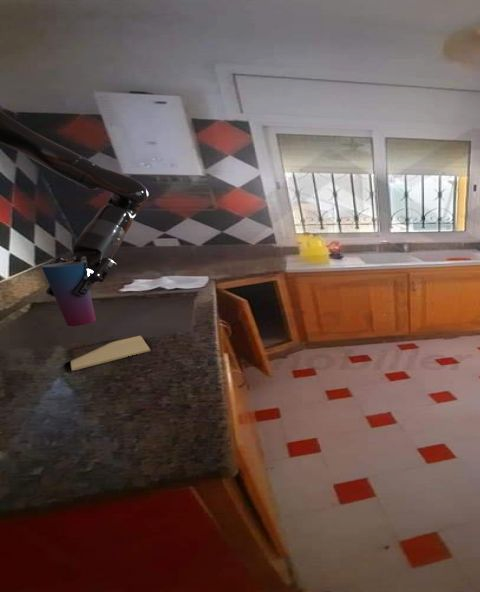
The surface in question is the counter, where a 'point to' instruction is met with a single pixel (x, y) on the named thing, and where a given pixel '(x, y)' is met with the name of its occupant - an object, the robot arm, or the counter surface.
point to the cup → (70, 292)
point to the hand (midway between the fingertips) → (64, 294)
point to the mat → (111, 352)
